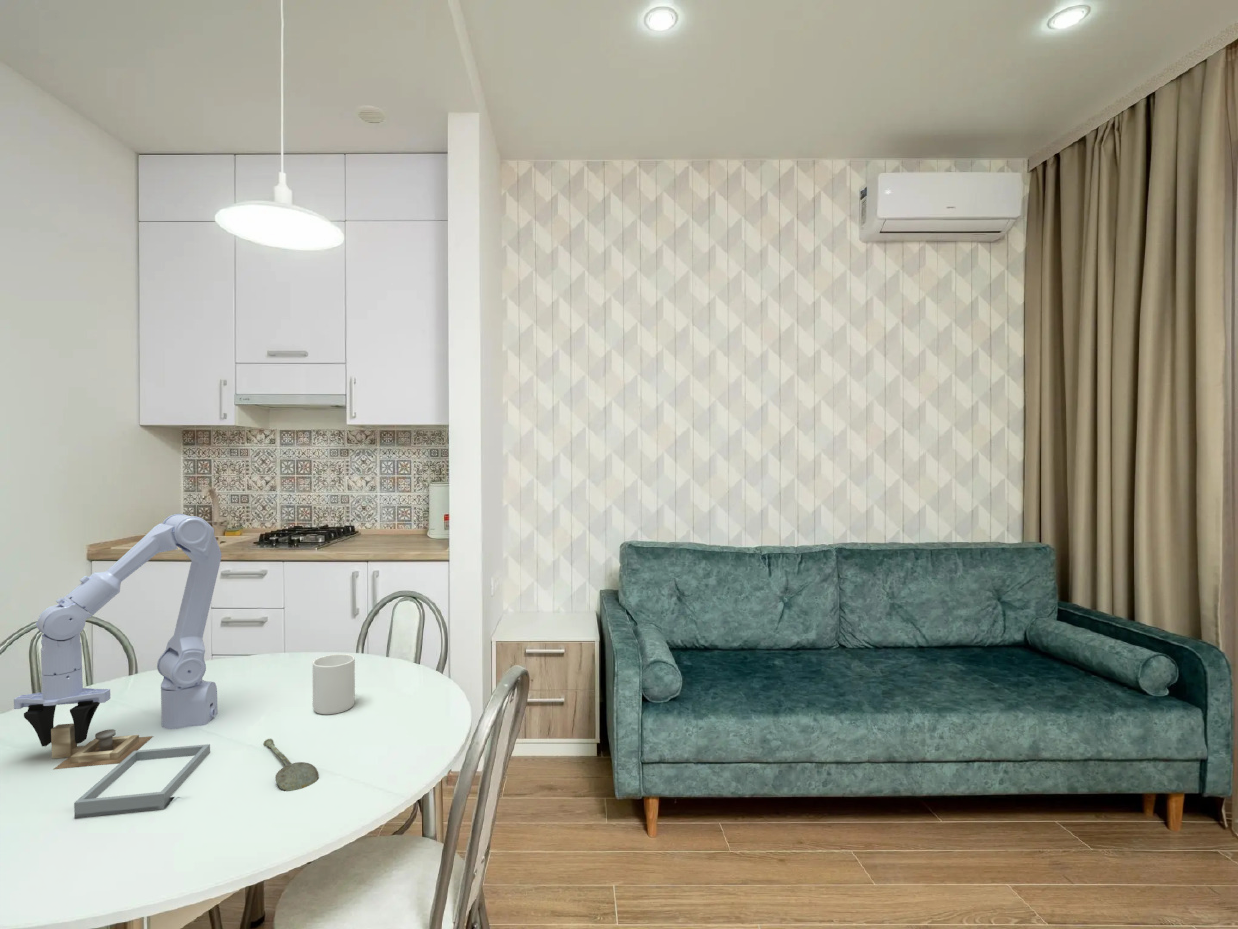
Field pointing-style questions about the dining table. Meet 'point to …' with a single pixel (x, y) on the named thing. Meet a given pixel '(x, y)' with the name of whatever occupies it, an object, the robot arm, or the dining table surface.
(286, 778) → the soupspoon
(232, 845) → the dining table surface
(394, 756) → the dining table surface
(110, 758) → the wooden knob frame
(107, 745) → the block
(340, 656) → the mug
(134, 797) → the grey rectangular frame
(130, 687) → the dining table surface
